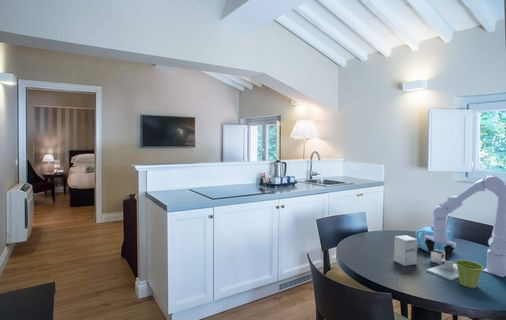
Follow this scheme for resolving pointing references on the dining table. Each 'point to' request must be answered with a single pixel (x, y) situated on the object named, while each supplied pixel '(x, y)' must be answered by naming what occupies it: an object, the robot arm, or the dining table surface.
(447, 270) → the duct plate
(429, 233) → the decorative pot
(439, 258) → the white boxy piece
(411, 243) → the supplement box
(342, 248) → the dining table surface
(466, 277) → the plant pot
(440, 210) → the robot arm
